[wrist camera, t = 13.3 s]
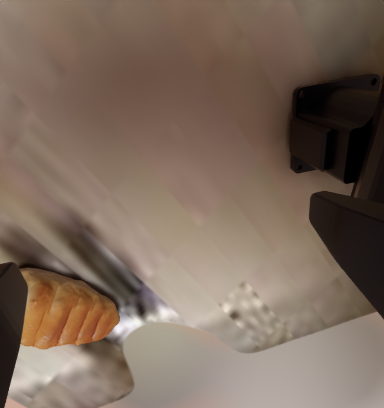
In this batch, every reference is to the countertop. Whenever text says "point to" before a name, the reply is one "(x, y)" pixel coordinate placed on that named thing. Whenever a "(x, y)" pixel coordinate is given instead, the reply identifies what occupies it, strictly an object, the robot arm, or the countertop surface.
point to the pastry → (64, 311)
